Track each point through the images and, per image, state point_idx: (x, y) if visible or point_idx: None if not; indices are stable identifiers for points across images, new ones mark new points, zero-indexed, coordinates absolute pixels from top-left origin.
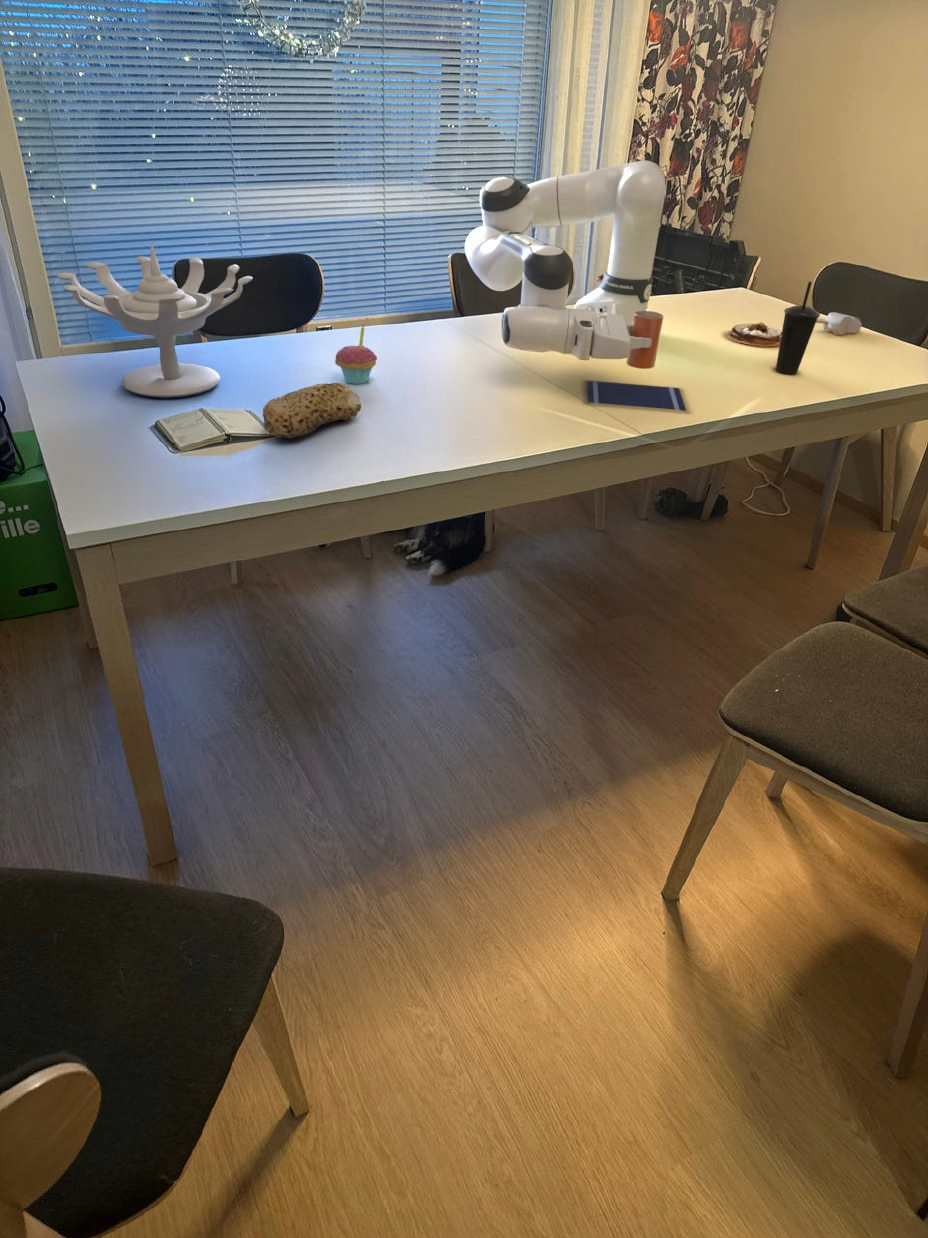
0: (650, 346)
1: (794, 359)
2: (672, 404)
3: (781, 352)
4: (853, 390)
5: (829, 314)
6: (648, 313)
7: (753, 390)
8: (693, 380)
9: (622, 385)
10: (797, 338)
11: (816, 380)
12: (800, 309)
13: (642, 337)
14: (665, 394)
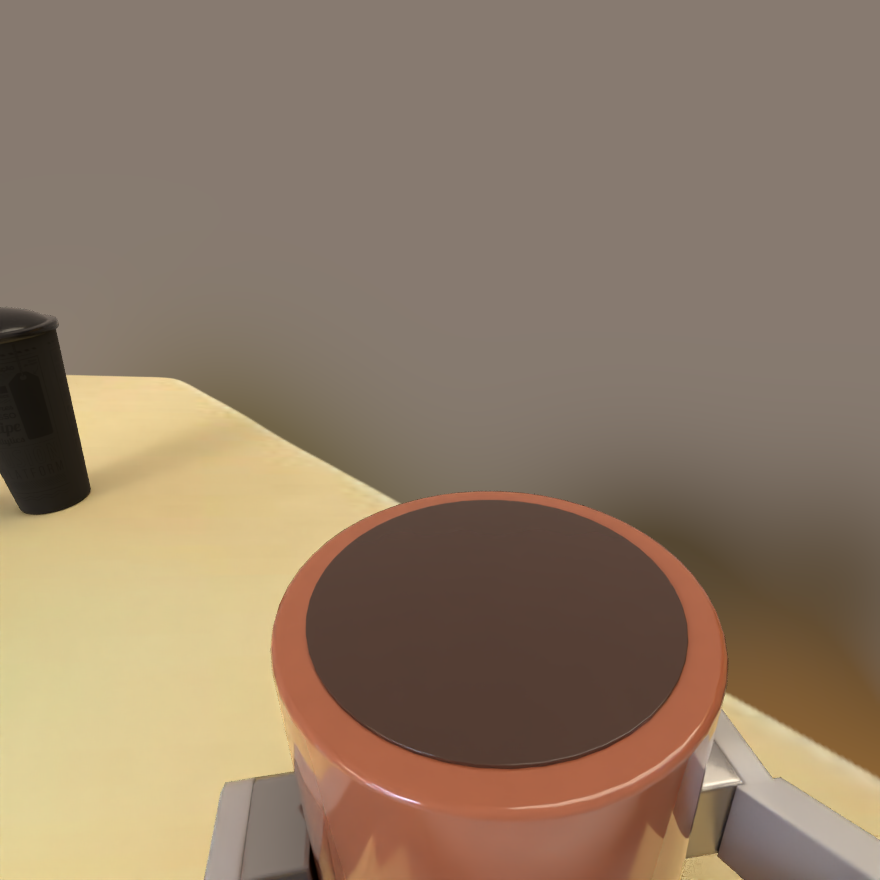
0: None
1: (81, 450)
2: None
3: (37, 458)
4: (221, 424)
5: None
6: (449, 602)
7: (241, 552)
8: (110, 728)
9: None
10: (62, 395)
11: (145, 459)
12: (8, 316)
13: (751, 788)
14: None
